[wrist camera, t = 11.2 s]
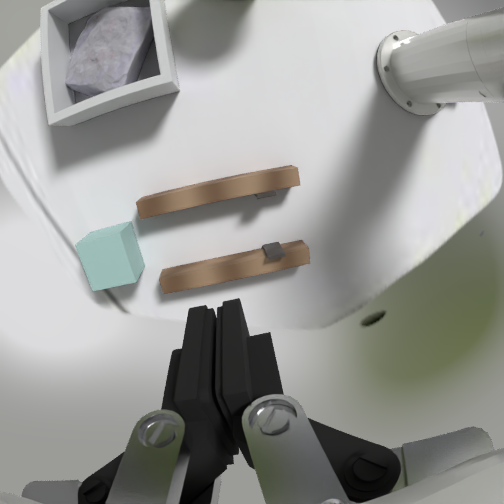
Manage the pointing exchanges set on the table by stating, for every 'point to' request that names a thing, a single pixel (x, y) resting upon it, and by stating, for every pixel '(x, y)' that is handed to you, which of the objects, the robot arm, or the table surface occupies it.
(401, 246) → the table surface
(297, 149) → the table surface
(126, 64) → the stone block
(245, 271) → the wooden rail pair
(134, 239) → the block
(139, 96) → the holder
